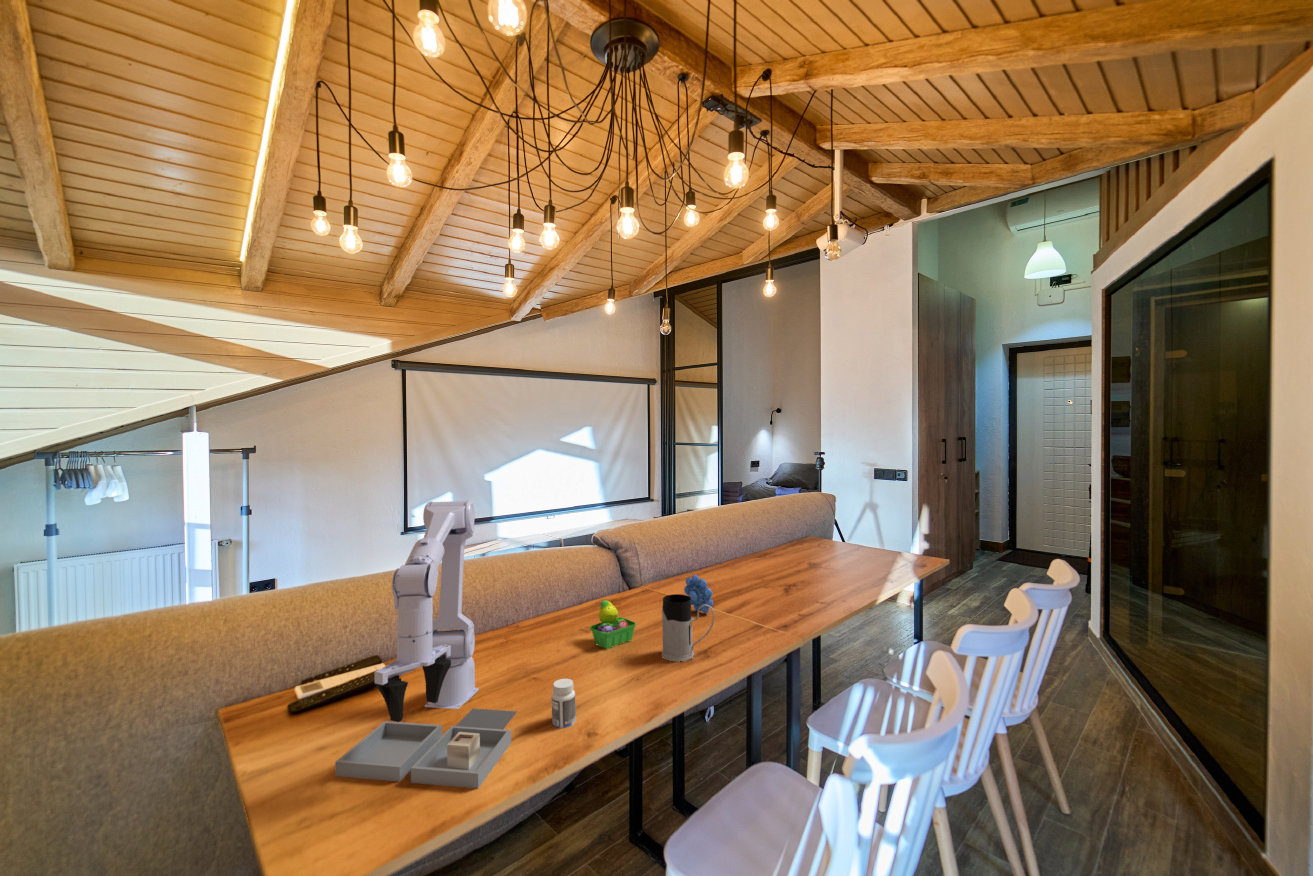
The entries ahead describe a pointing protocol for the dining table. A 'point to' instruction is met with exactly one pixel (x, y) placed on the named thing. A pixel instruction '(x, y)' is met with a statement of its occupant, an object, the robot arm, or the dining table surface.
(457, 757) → the letter cube
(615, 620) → the fruit basket
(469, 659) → the robot arm
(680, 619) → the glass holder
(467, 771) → the tray
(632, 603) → the dining table surface
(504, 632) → the dining table surface
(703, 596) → the grapes
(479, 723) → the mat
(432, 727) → the tray
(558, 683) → the pill bottle
